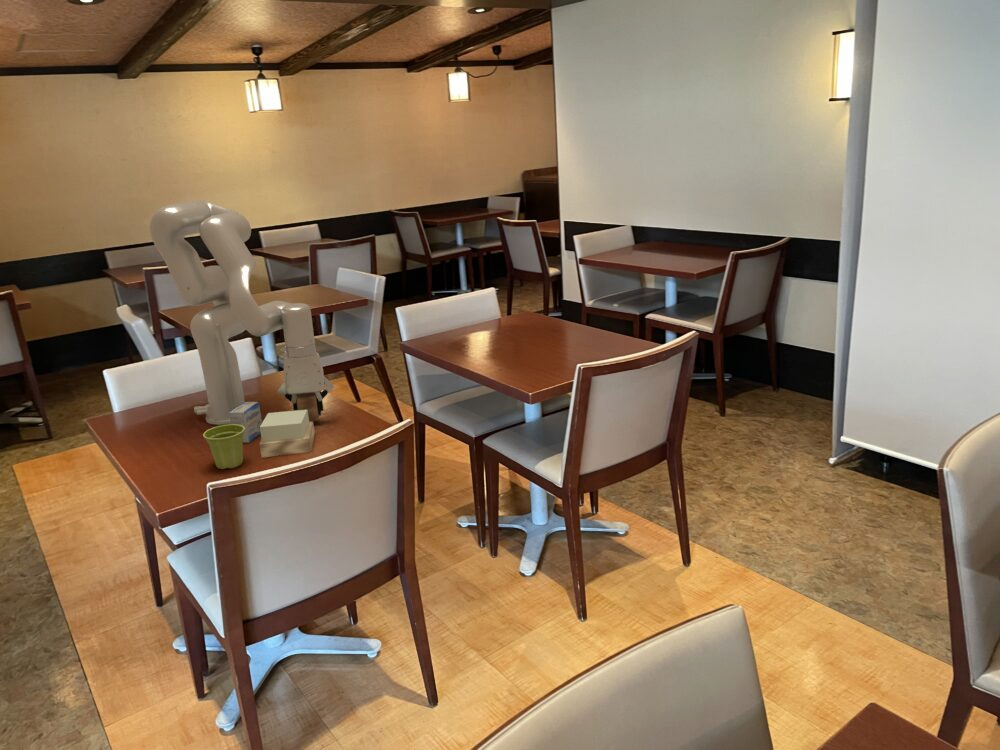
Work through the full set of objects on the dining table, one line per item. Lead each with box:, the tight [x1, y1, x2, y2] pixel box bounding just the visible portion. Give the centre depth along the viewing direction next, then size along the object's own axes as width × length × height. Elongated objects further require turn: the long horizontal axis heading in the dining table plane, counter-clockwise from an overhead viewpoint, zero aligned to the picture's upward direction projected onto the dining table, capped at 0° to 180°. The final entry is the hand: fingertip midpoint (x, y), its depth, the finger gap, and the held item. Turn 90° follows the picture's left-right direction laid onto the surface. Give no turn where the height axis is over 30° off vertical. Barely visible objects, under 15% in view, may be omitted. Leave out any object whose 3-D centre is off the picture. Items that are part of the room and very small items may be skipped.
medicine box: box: [229, 401, 263, 444], centre depth 196 cm, size 8×4×9 cm, turn 168°
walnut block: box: [296, 392, 321, 422], centre depth 203 cm, size 5×5×7 cm
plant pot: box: [202, 424, 245, 470], centre depth 180 cm, size 9×9×9 cm
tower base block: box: [259, 421, 316, 459], centre depth 190 cm, size 12×12×4 cm
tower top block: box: [260, 410, 310, 442], centre depth 188 cm, size 10×10×4 cm
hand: (309, 413), depth 204 cm, fingers closed on walnut block, 4 cm apart
